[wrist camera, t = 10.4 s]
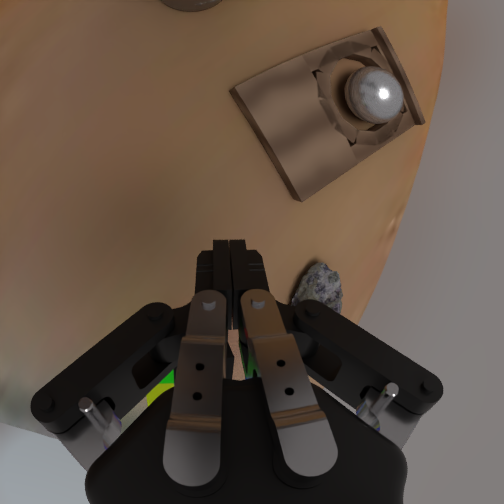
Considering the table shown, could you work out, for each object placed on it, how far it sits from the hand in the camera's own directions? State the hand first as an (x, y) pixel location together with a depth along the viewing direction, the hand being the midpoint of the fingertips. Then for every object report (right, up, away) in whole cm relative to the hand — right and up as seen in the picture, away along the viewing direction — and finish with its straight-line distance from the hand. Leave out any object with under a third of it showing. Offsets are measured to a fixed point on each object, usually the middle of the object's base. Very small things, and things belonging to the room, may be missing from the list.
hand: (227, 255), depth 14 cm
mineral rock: (+10, -8, +31) cm, 33 cm away
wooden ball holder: (+12, +20, +22) cm, 32 cm away
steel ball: (+17, +21, +18) cm, 33 cm away
